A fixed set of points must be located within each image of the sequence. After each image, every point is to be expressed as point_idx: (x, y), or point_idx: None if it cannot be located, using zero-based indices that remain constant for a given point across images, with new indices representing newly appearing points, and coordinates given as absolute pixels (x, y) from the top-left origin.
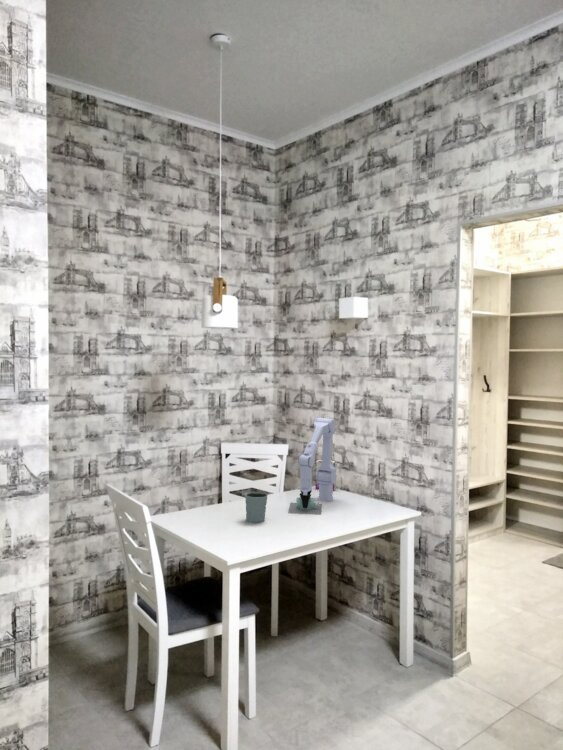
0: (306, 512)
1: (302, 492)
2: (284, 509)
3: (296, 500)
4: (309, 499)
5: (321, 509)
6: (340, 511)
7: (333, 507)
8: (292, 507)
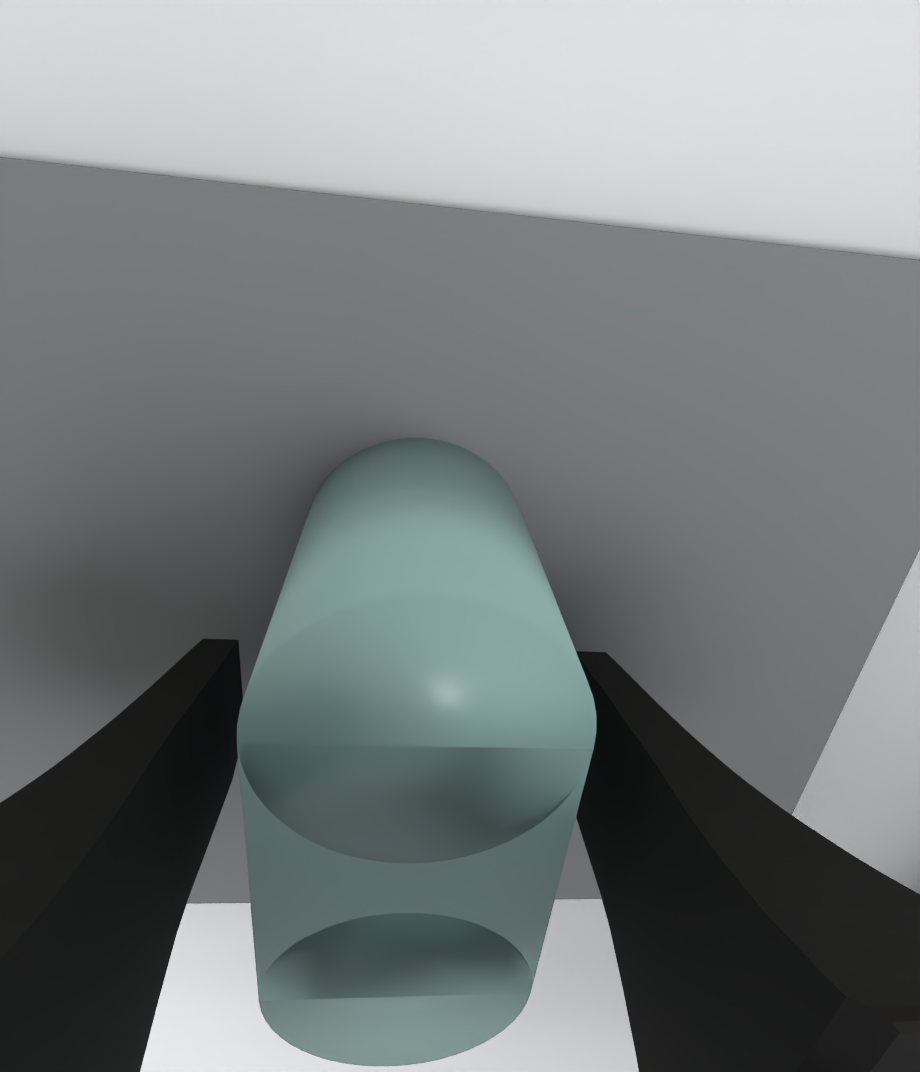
0: (31, 673)
1: (764, 986)
2: (334, 3)
3: (417, 540)
4: (271, 980)
5: None
6: None
7: (566, 999)
8: (474, 322)
